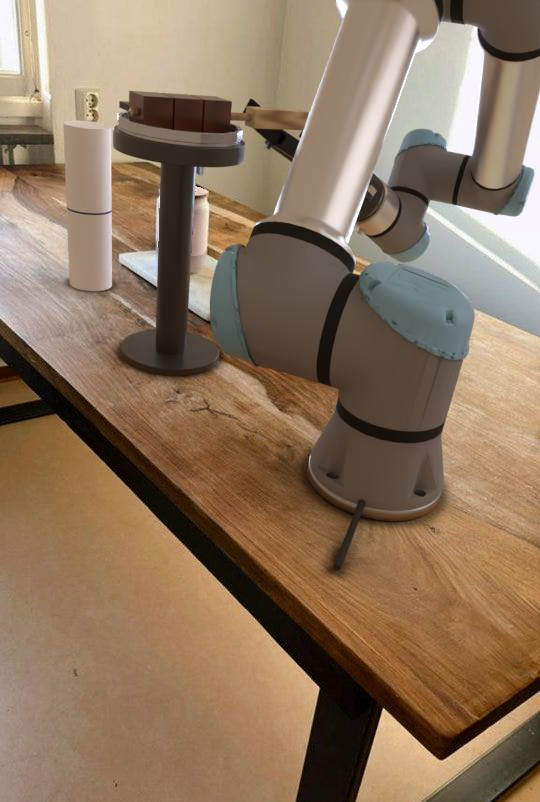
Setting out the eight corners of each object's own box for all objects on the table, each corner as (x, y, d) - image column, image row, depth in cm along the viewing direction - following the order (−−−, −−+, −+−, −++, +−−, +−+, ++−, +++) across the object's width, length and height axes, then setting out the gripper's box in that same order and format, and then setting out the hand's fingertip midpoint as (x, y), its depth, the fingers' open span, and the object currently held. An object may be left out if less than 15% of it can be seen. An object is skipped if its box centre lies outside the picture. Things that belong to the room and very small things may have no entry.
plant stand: (169, 310, 114) (178, 103, 97) (246, 368, 100) (272, 136, 83) (76, 322, 106) (68, 97, 89) (145, 387, 91) (150, 132, 74)
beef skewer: (292, 132, 95) (296, 101, 93) (308, 138, 93) (313, 106, 91) (123, 126, 82) (124, 90, 80) (138, 132, 79) (138, 95, 77)
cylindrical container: (70, 290, 116) (64, 126, 103) (68, 276, 122) (62, 118, 108) (113, 291, 119) (113, 130, 105) (110, 277, 124) (109, 123, 110)
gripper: (406, 245, 99) (317, 165, 83) (302, 201, 115) (211, 126, 99) (435, 197, 97) (351, 106, 82) (326, 158, 113) (238, 76, 98)
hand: (274, 116), depth 90 cm, fingers open, 13 cm apart
